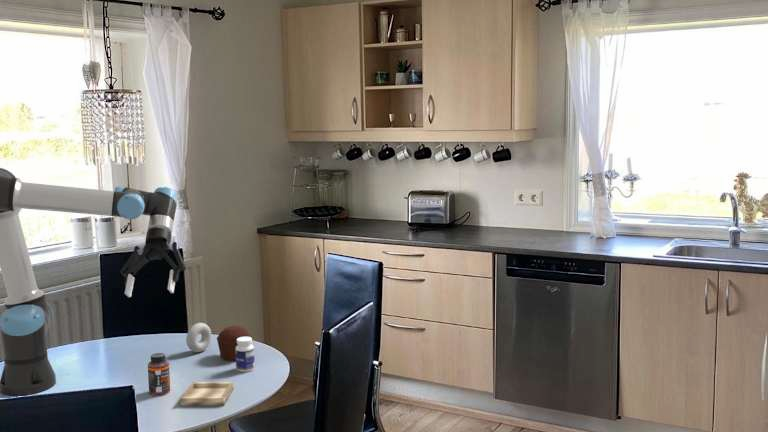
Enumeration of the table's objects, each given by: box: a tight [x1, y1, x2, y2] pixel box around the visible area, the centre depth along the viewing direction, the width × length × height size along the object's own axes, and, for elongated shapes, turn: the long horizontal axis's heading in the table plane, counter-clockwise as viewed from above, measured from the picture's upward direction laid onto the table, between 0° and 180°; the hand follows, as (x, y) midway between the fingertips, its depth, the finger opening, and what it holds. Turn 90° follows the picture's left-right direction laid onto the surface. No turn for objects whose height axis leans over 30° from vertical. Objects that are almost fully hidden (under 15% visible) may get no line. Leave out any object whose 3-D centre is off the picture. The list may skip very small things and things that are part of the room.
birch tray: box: [179, 381, 234, 407], centre depth 214 cm, size 12×12×2 cm
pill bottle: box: [235, 336, 256, 373], centre depth 236 cm, size 6×6×10 cm
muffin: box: [216, 325, 252, 362], centre depth 248 cm, size 12×11×10 cm
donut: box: [185, 322, 212, 354], centre depth 253 cm, size 10×4×10 cm, turn 146°
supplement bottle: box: [147, 352, 171, 396], centre depth 217 cm, size 6×6×11 cm
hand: (149, 293), depth 225 cm, fingers open, 13 cm apart
